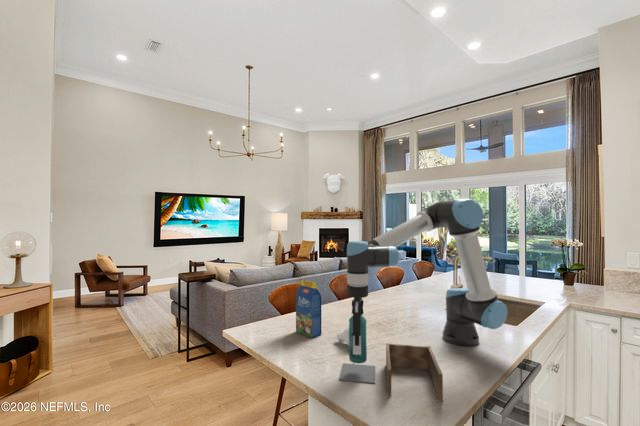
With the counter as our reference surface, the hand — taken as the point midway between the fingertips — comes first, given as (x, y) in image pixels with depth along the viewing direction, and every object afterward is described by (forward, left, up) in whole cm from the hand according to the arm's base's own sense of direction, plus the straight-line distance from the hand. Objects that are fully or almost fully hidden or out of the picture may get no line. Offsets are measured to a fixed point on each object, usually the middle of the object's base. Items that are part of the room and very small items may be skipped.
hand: (357, 349), depth 109 cm
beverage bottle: (0, 0, -5) cm, 5 cm away
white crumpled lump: (+6, -25, -9) cm, 27 cm away
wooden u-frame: (-18, +2, -8) cm, 20 cm away
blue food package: (+26, -35, -9) cm, 44 cm away
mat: (0, 0, -8) cm, 8 cm away
